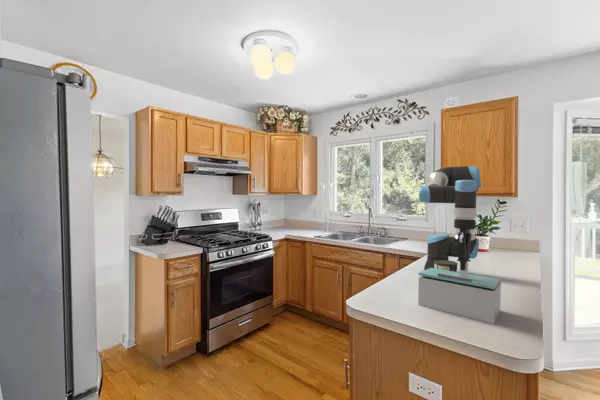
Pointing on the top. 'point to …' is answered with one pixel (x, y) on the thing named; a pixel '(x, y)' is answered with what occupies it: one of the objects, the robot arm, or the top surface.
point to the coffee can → (446, 265)
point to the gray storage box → (460, 298)
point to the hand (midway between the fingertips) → (463, 277)
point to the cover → (461, 278)
